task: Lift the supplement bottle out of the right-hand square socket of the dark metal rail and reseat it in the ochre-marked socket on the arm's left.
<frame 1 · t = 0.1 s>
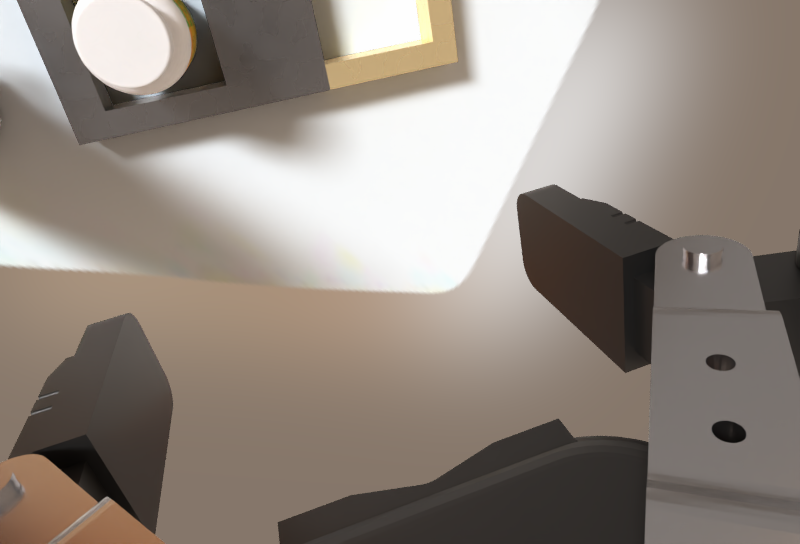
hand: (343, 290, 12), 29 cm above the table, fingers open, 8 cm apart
rail: (250, 13, 35), on the table
supplement bottle: (150, 32, 34), resting in rail
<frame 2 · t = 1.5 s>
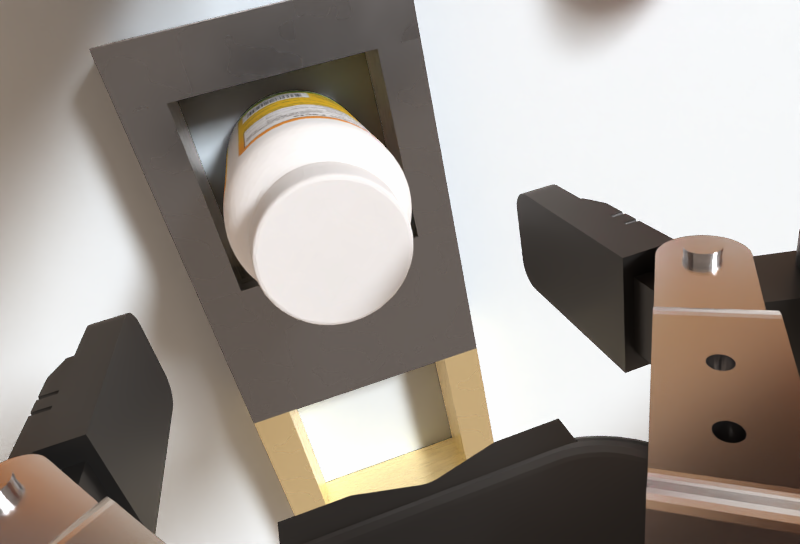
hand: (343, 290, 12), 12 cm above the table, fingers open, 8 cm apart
rail: (338, 290, 25), on the table
supplement bottle: (298, 158, 22), resting in rail
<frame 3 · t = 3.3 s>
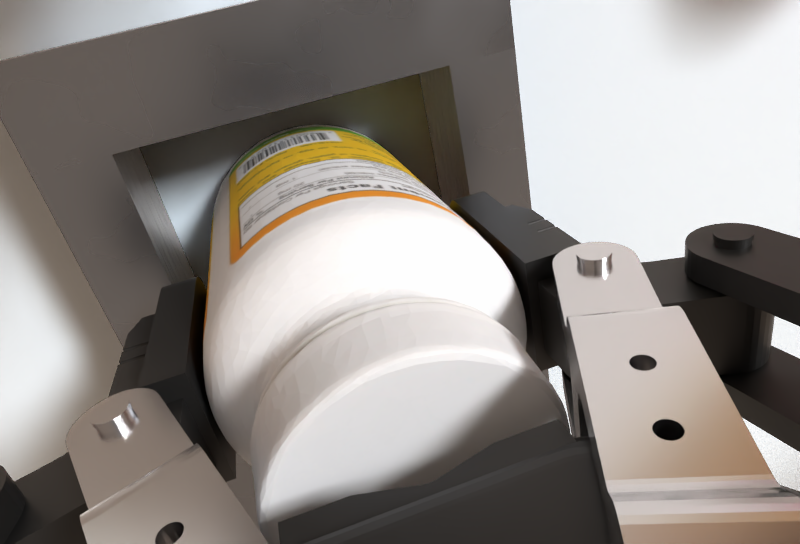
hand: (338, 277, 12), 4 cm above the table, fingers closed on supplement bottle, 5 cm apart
rail: (368, 392, 18), on the table
supplement bottle: (316, 220, 16), resting in rail, touching gripper
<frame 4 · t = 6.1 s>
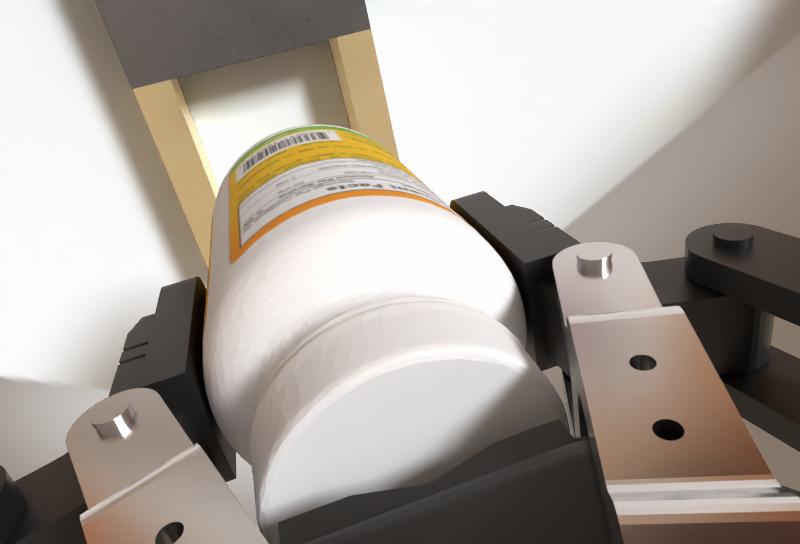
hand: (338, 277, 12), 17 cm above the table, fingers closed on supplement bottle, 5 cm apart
supplement bottle: (316, 219, 16), point 13 cm above the table, touching gripper
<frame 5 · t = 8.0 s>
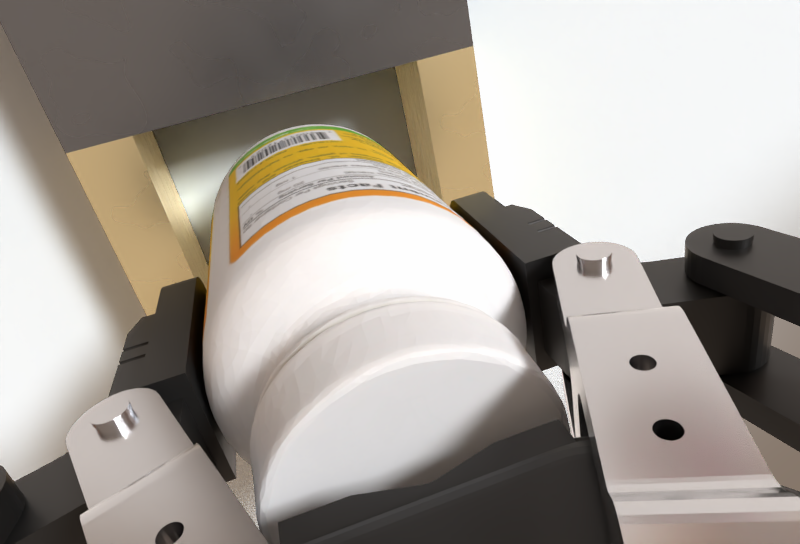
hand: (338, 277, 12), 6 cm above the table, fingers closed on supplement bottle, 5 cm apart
supplement bottle: (316, 219, 16), point 2 cm above the table, touching gripper
when the fingers open (4 cm above the table, at t = 9.3 s): supplement bottle stays where it is, resting in rail.
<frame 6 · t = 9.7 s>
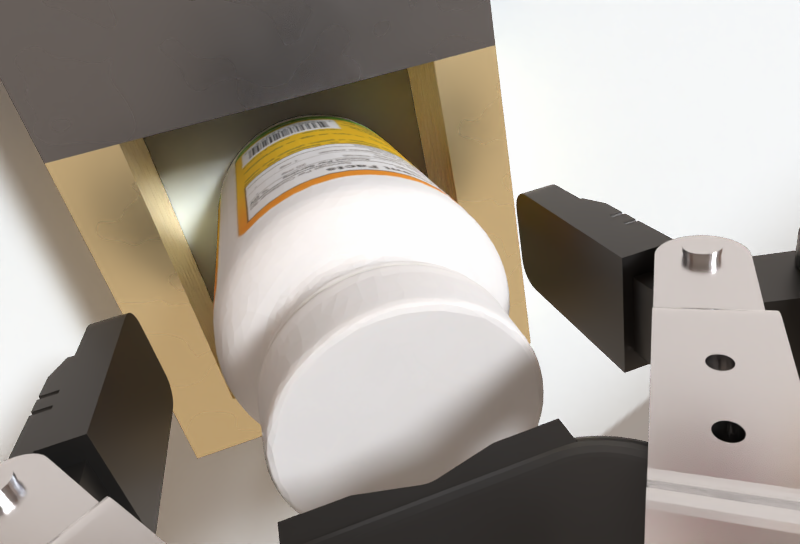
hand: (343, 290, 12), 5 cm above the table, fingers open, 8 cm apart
supplement bottle: (317, 205, 16), resting in rail
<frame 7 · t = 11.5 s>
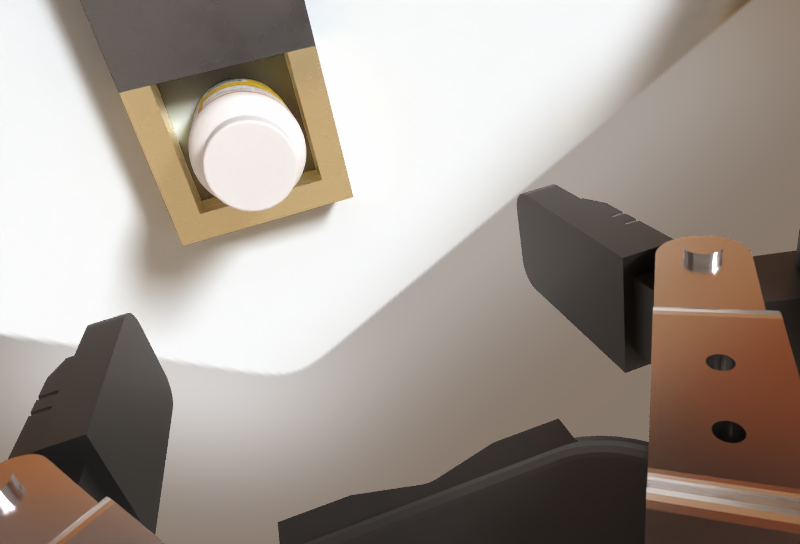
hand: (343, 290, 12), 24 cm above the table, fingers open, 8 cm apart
supplement bottle: (243, 125, 33), resting in rail
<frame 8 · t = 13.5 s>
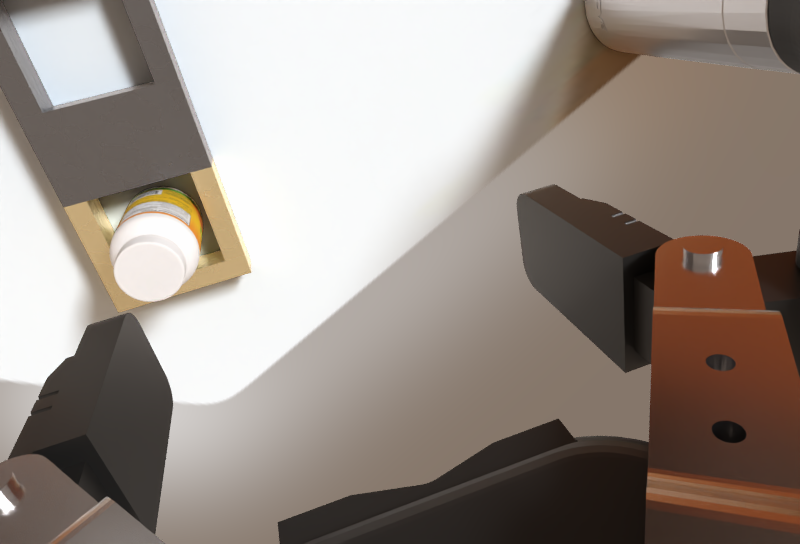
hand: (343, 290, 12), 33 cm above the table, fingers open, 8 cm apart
rail: (123, 129, 39), on the table
supplement bottle: (165, 218, 43), resting in rail
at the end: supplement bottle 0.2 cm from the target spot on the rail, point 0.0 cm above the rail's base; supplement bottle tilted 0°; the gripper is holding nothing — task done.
